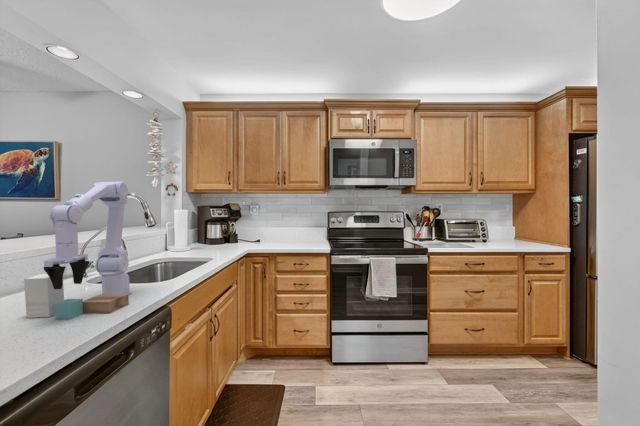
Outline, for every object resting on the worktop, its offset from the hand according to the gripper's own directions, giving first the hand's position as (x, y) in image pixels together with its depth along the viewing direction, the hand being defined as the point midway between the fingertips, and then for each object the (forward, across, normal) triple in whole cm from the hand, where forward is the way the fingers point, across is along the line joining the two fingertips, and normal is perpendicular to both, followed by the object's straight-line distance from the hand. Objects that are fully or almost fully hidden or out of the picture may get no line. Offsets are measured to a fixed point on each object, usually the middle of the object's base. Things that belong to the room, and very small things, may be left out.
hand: (68, 286), depth 110 cm
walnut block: (+10, +8, -6) cm, 14 cm away
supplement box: (+10, +2, +10) cm, 14 cm away
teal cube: (+10, 0, 0) cm, 10 cm away
